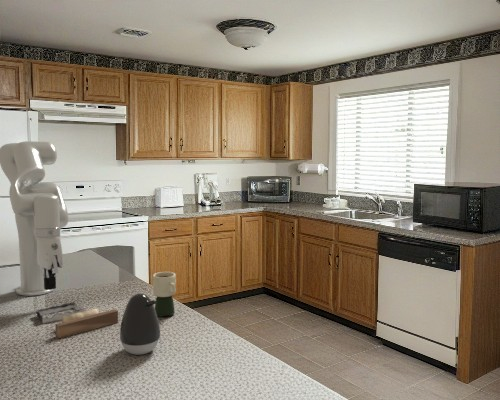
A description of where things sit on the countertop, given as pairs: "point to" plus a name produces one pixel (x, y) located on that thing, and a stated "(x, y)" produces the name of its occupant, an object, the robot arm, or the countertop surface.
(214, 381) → the countertop surface
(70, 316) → the roller
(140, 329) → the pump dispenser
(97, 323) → the stop rail
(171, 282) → the character mug
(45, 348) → the countertop surface
